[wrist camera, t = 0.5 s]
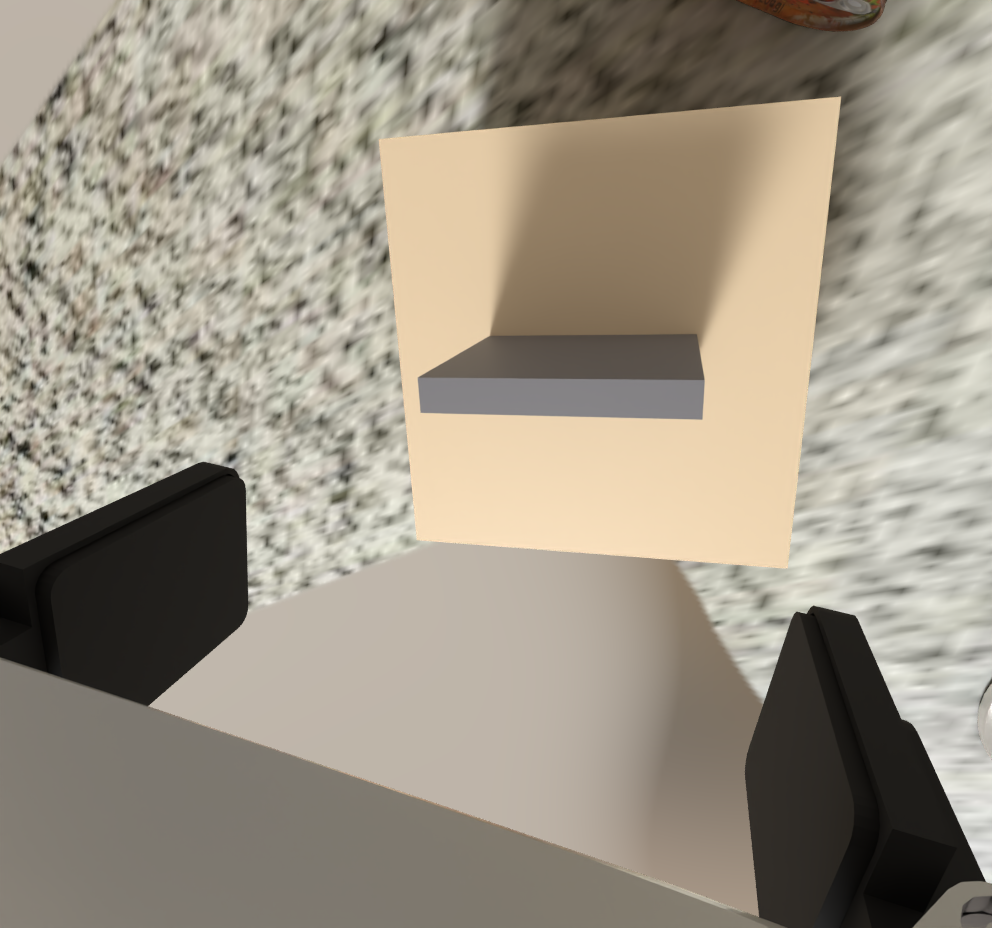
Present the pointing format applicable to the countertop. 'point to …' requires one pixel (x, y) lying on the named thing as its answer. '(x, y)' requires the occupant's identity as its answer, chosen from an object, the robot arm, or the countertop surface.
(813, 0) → the tin
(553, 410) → the lid
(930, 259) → the countertop surface
